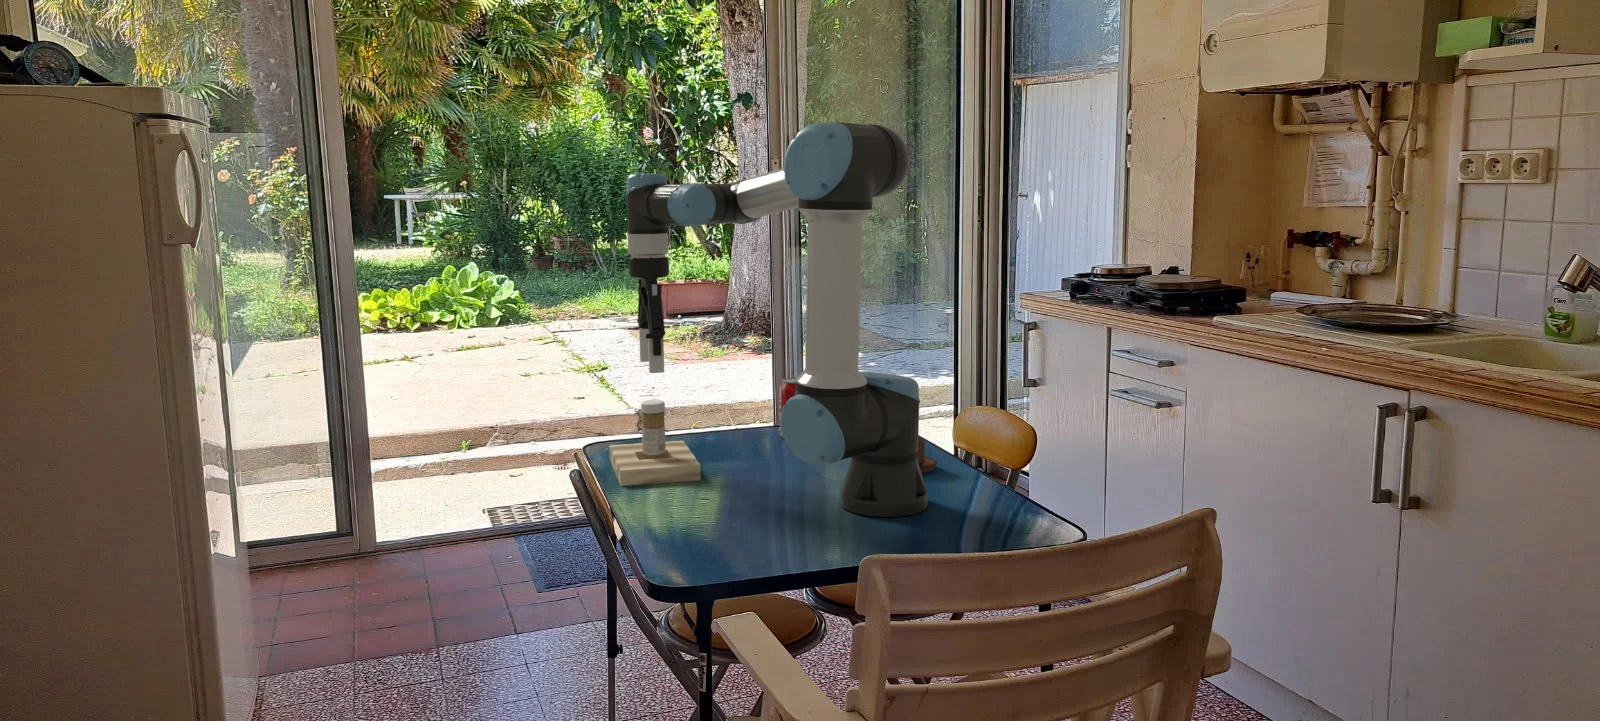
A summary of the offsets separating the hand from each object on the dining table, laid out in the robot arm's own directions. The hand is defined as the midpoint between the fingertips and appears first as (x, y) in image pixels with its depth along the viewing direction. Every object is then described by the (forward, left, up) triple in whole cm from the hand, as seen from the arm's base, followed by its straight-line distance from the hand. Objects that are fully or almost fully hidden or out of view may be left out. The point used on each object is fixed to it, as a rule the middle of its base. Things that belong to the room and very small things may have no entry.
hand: (651, 367), depth 213 cm
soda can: (+18, -33, -21) cm, 43 cm away
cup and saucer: (-13, -47, -21) cm, 53 cm away
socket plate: (0, 0, -20) cm, 20 cm away
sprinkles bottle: (0, 0, -20) cm, 20 cm away
